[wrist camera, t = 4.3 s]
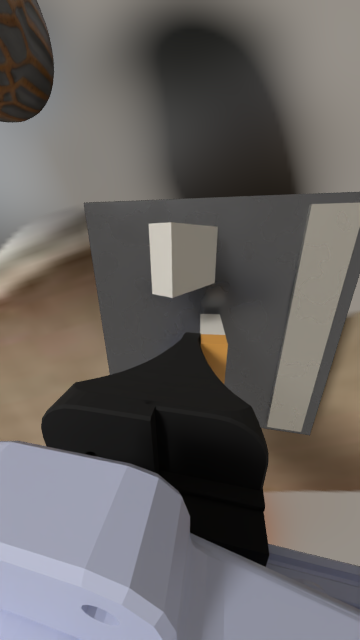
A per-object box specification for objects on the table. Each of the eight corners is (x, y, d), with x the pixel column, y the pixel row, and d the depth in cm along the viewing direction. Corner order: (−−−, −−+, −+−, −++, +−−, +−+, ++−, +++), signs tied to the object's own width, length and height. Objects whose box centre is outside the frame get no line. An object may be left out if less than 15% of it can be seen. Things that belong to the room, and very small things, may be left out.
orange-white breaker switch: (216, 355, 14) (223, 397, 10) (199, 355, 14) (199, 396, 10) (219, 314, 13) (227, 344, 9) (200, 313, 13) (201, 343, 9)
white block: (214, 282, 12) (172, 298, 9) (197, 280, 13) (152, 294, 10) (217, 226, 11) (171, 222, 8) (198, 227, 12) (148, 223, 9)
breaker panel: (300, 414, 18) (311, 438, 15) (124, 390, 20) (113, 408, 18) (359, 198, 12) (390, 189, 10) (101, 207, 15) (80, 202, 12)
